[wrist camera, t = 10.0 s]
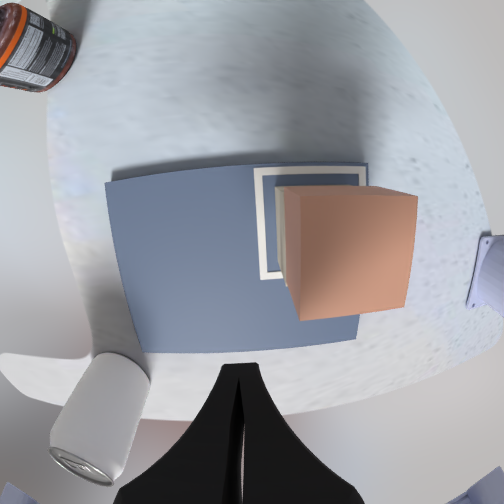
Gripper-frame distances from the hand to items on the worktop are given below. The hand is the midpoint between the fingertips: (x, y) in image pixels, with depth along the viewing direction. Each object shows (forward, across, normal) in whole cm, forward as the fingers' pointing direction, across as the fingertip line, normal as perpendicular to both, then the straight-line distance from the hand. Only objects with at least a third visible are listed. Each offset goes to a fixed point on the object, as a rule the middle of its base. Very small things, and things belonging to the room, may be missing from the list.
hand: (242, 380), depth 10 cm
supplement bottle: (+11, +15, -20) cm, 27 cm away
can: (+11, +13, +10) cm, 20 cm away
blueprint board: (+10, 0, -1) cm, 10 cm away
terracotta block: (+5, -5, -4) cm, 9 cm away
